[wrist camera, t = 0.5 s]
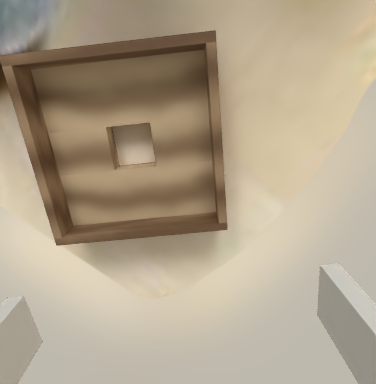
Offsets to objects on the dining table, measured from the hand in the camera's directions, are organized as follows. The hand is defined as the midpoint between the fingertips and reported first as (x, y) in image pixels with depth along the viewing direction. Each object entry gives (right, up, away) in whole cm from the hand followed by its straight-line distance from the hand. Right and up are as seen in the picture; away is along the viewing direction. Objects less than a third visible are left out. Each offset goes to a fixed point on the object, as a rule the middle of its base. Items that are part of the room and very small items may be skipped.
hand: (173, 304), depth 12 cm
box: (-6, +12, +24) cm, 27 cm away
